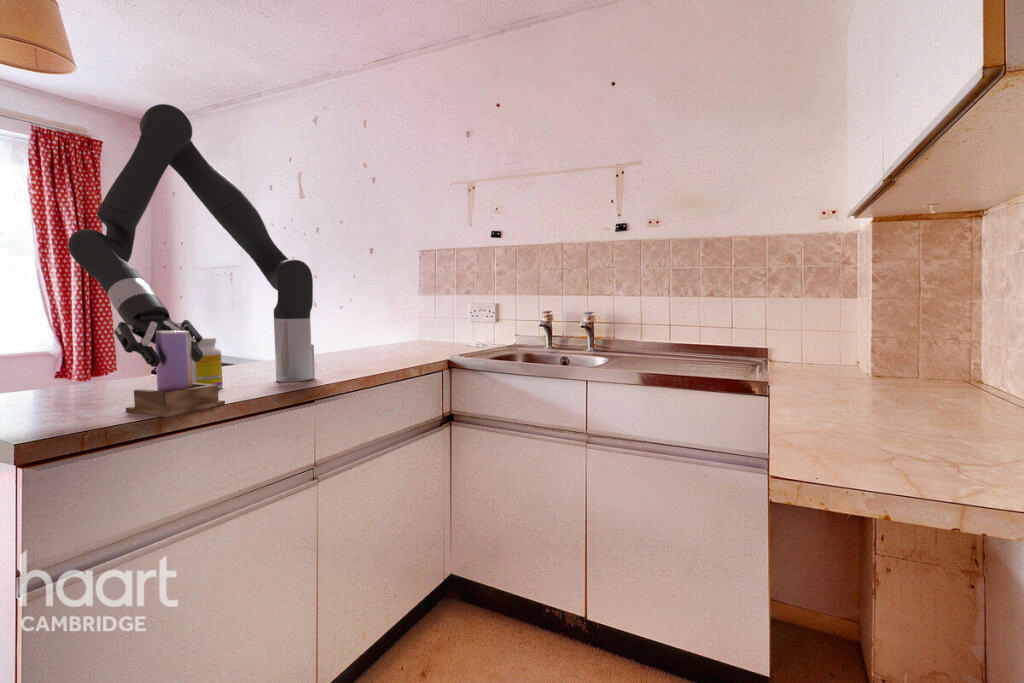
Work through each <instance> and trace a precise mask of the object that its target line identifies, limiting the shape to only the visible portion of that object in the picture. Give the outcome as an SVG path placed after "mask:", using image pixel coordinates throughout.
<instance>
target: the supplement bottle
mask: <svg viewBox="0 0 1024 683" xmlns="http://www.w3.org/2000/svg"><path fill="white" fill-rule="evenodd" d="M202 338H203V339H202V340H201V341H200V343H199V344H198V347H199V348H200V350H201V351H202V353H203V356H202V358H201V360H200V361H199V362H194V361H193V359H192V378H193V383H203V384H215V385H218V390H221V389H222V388H223V386H224V385H223V384H224V383H223V382H224V381H223V368H222V367H223V366H222V364H223V363H222V351H221V349H220V348H219V347H216V343H217V338H216V337H202Z"/></svg>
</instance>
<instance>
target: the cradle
mask: <svg viewBox="0 0 1024 683" xmlns="http://www.w3.org/2000/svg"><path fill="white" fill-rule="evenodd" d="M133 399H134V400H133V401H134V403H133V404H134V405H133V406H128V407H125V412H126V411H128V412H127V413H133V412H135V414H140V413H141V414H142V415H148V414H149V415H150V416H156V415H159V416H158V417H162V418H163V417H164V418H168V417H172V416H178V415H182V414H187V413H192V412H195V411H201V410H205V409H210V408H215V407H218V405H220V406H223V404H224V405H225V404H226V401H225V400H224V399H223V400H221V399H219V389H218V385H215V384H203V383H193V388H190V389H184V390H178V391H172V392H164V391H157V390H153V389H144V388H137V389H133Z"/></svg>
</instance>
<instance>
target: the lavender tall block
mask: <svg viewBox="0 0 1024 683" xmlns="http://www.w3.org/2000/svg"><path fill="white" fill-rule="evenodd" d="M189 332H190V331H186V330H169V331H156V336H155V344H154V345H155V346H154V348H155V349H154V350H155V352H156V353H157V355H158V356H159V358H160V360H161V361H160V363H159V364H158V366H157V367H155V368H156V386H157V387H156V389H157V390H156V391H164V392H172V391H178V390H184V389H190V388H193V378H192V352H191V336H190V333H189Z"/></svg>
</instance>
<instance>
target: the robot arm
mask: <svg viewBox="0 0 1024 683" xmlns="http://www.w3.org/2000/svg"><path fill="white" fill-rule="evenodd" d="M139 131H140V136H139V139H138V142H137V144H136V146H135V148H134V151H133V152H132V153H131V156H130V157H129V159H128V161H127V162H126V164H125V166H124V167H123V168H122V170H121V172H120V173H119V174H118V175H117V177H116V179H115V180H114V182H113V183H112V185H111V186H110V188H109V190H108V192H107V193H106V195H105V196H104V198H103V201H102V202H101V203H100V206H99V207H98V209H97V211H96V217H97V219H98V220H100V222H101V223H102V224H103V225H104V226H105V227H106V233H105V234H104V233H102V232H99V231H98V230H95V229H92V228H91V229H89V228H85V229H84V228H83V229H79V230H76V231H75V232H73V233H71V235H70V236H69V238H68V242H67V246H68V250H69V253H70V256H72V259H73V260H74V261H75V262H76V263H77V264H78V265H79V266H80V267H81V268H83V269H84V271H86V273H88V274H89V275H90V276H91V277H93V278H94V280H96V282H98V283H99V284H100V287H101V288H102V289H103V291H104V293H106V295H107V297H108V298H109V300H110V302H111V305H112V306H113V308H114V309H115V311H116V312H117V314H118V315H119V316H120V318H121V319H122V320H123V321H120V322H119V323H118V325H117V326H116V328H115V329H114V331H113V333H114V335H115V336H116V338H117V339H118V341H119V343H120V345H121V346H122V348H123V350H124V351H125V352H126V353H129V354H131V353H133V352H136V353H137V354H139V355H141V357H142V358H143V359H144V361H145V363H146V364H147V365H149V366H151V367H152V368H156V367H157V366H158V364H159V363H160V361H161V360H160V358H159V356H158V355H157V353H156V350H155V349H154V348H153V346H151V345H150V344H151V343H152V344H153V345H155V336H156V331H169V330H186V331H190V332H189V333H190V336H191V352H192V359H193V361H194V362H199V361H200V360H201V358H202V356H203V353H202V351H201V350H200V348H199V347H198V344H199V343H200V341H201V340H202V339H203V338H204V337H203V336H202V335H201V334H200V333H199V331H198V330H197V328H195V326H194V325H193V324H192V323H191V322H190V321H189V320H187V319H183V321H182V322H175V321H174V320H173V319H171V317H170V312H169V310H168V308H167V307H166V306H165V305H164V303H163V302H162V300H160V297H158V295H157V294H156V292H155V291H154V290H153V288H152V287H151V286H150V285H149V284H148V283H147V282H146V281H145V280H144V278H143V277H142V275H141V274H140V273H139V271H138V270H137V269H136V267H134V266H133V265H131V264H130V263H129V261H130V260H131V256H132V253H133V248H134V244H135V236H136V229H137V226H138V225H139V223H140V221H141V219H142V217H143V215H144V214H145V212H146V210H147V208H148V206H149V204H150V202H151V200H152V198H153V195H154V193H155V191H156V189H157V187H158V185H159V183H160V180H162V177H163V175H164V174H165V171H166V170H167V169H168V166H170V167H171V168H172V169H173V170H174V171H175V172H176V173H177V174H178V175H179V176H180V177H181V178H182V180H183V181H184V182H185V183H186V184H187V186H188V187H189V188H190V189H191V191H192V192H193V194H195V196H196V197H197V198H198V200H199V201H200V202H201V203H202V204H203V206H204V207H205V208H206V209H207V210H208V212H209V213H210V214H211V215H212V217H214V219H215V220H216V221H217V222H218V223H219V225H220V226H221V227H222V228H223V229H224V230H225V231H226V232H227V233H228V234H229V236H230V237H231V238H232V239H233V240H234V241H235V242H236V244H238V246H240V247H241V249H242V250H244V251H245V252H246V254H248V256H249V257H250V258H251V259H252V261H253V262H254V263H255V264H256V266H257V267H258V269H259V270H260V272H261V273H262V275H263V276H264V278H265V279H266V281H267V282H268V283H269V285H271V287H272V288H273V289H274V290H276V291H277V303H276V305H275V307H274V308H273V330H274V353H275V354H274V356H275V359H274V362H275V381H276V382H279V383H280V382H281V383H291V382H292V383H293V382H294V383H295V382H296V383H298V382H303V381H304V382H306V381H310V380H312V379H314V378H316V375H315V374H316V372H315V346H314V344H312V335H311V334H312V332H311V331H312V329H311V327H312V326H311V325H312V324H311V312H312V309H313V305H314V304H313V303H314V300H313V298H314V297H313V296H314V283H313V282H314V281H313V274H312V270H311V269H310V267H309V265H307V263H306V262H305V261H302V260H300V259H293V258H292V259H289V258H288V257H287V256H286V255H285V254H284V253H283V252H282V251H281V250H280V249H279V247H277V245H276V244H275V242H274V241H273V240H272V237H270V234H269V232H268V230H267V229H268V228H266V225H265V223H264V221H263V218H262V216H261V215H260V213H259V211H258V210H257V209H256V207H255V206H254V204H253V203H252V202H251V201H250V199H249V198H248V197H247V196H246V195H245V193H244V192H243V191H242V190H241V189H240V188H239V187H238V186H237V185H236V184H234V182H232V181H231V180H230V179H228V177H226V176H225V175H224V174H222V173H221V172H220V171H218V170H217V169H216V168H215V167H214V166H213V165H211V163H210V162H209V161H208V160H207V159H206V158H205V157H204V156H203V155H202V153H201V152H200V150H199V148H197V147H196V145H195V144H194V142H193V141H192V137H193V125H192V122H191V120H190V118H189V116H187V114H186V113H185V112H184V111H183V110H181V109H180V108H178V107H177V106H174V105H171V104H166V103H162V104H156V105H153V106H151V107H149V108H148V109H147V110H146V111H145V112H144V114H143V116H142V117H141V119H140V122H139ZM134 335H135V336H137V337H139V338H140V341H137V339H136V338H135V336H134Z"/></svg>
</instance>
